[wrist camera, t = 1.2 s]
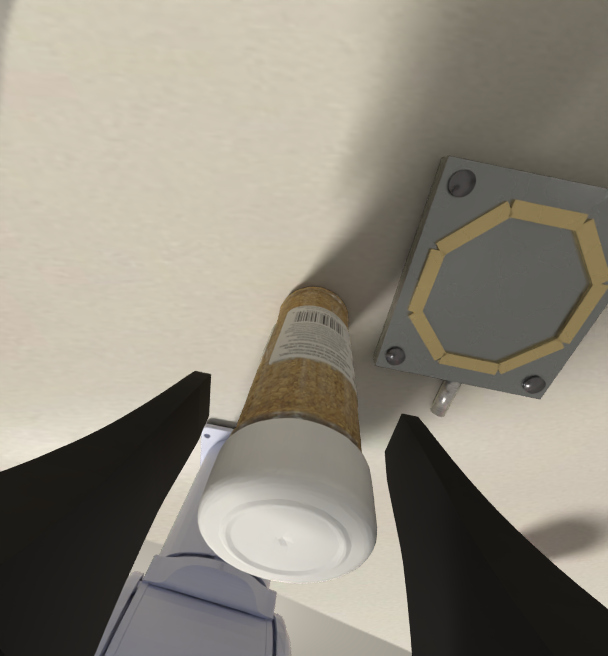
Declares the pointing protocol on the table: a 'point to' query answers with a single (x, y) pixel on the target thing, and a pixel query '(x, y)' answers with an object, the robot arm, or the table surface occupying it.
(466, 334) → the octagon fixture plate
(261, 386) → the sprinkles bottle
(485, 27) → the table surface
